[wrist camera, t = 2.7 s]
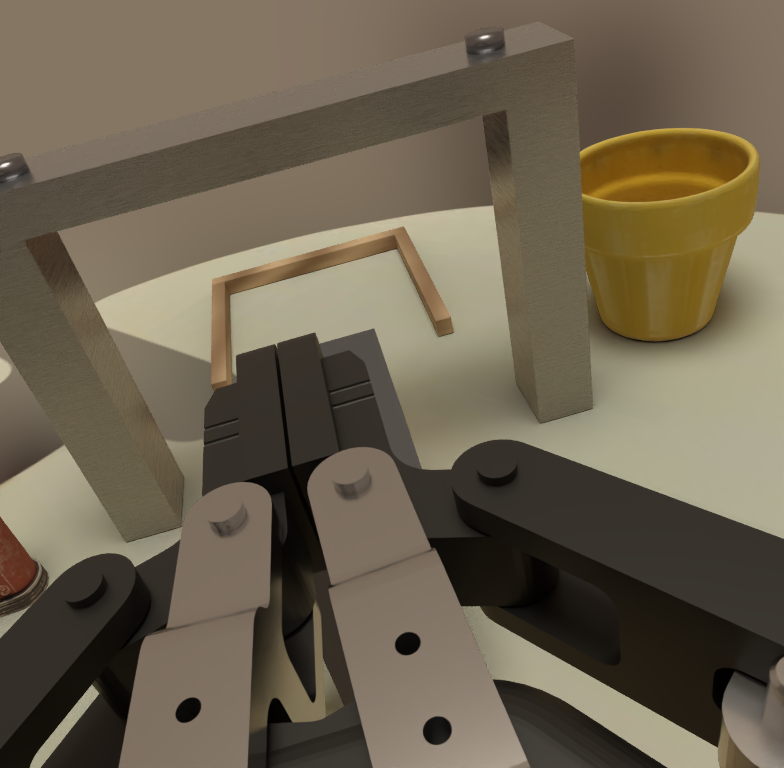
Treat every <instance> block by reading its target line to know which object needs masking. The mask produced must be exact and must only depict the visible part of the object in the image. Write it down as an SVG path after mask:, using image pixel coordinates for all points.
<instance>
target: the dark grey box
mask: <svg viewBox="0 0 784 768" xmlns="http://www.w3.org/2000/svg"><path fill="white" fill-rule="evenodd" d="M320 347H321V350H322V354H323V357H327V356H331V355H334V354H337V353H341V352H344V351H348V350H350V351H351V352H352V353H354V354H355V355H356V356H358V357H359V358H360V359H361V360H363V361H364V362H365V365H366V368H367V371H368V375H369V378H370V382H371V385H372V388H373V392H374V395H375V398H376V402H377V405H378V408H379V412H380V415H381V418H382V422H383V425H384V428H385V432H386V435H387V439H388V442H389V445H390V448H391V450H392V452H393V454H394V455H395V456H396V457H397V458H398V459H399V460H400V461H401V462H403V463H405V464H406V465H409V466H411V467H414V468H418V469H422V468H421V465H420V462H419V459H418V456H417V453H416V450H415V447H414V444H413V442H412V439H411V436H410V433H409V430H408V427H407V424H406V421H405V418H404V415H403V412H402V409H401V406H400V403H399V400H398V397H397V394H396V391H395V388H394V386H393V383H392V380H391V377H390V374H389V371H388V368H387V365H386V362H385V359H384V356H383V353H382V350H381V347H380V344H379V341H378V338H377V335H376V332H375V330H374V329H371V330H367V331H364V332H360V333H356V334H353V335H349V336H346V337H342V338H339V339H335V340H331V341H328V342H324V343H321V344H320ZM313 576H314V584H315V591H316V598H315V599H316V601H317V604H318V606H319V609H320V613H321V629H322V650H323V659H324V662H325V664H326V666H327V668H328V670H329V673H330V675H331V677H332V679H333V682H334V684H335V686H336V688H337V690H338V693H339V695H340V697H341V699H342V702H343V704H344V706H346V705H348V704H350V703H352V702H353V701H355V700H356V699H355V695H354V691H353V687H352V683H351V679H350V675H349V671H348V667H347V663H346V659H345V655H344V651H343V647H342V643H341V639H340V635H339V631H338V627H337V623H336V619H335V615H334V611H333V607H332V603H331V599H330V595H329V589H328V586H329V585H331V581H330V577H329V573H328V570H324V571H321V572H317V573H314V574H313Z"/></svg>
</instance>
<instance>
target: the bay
mask: <svg viewBox="0 0 784 768" xmlns="http://www.w3.org/2000/svg"><path fill="white" fill-rule="evenodd" d="M396 248H397V249H398V251H399V253H400V255H401V257H402V259H403V261H404V263H405V266H406V268H407V270H408V272H409V274H410V276H411V278H412V280H413V283H414V285H415V287H416V289H417V291H418V293H419V295H420V297H421V300H422V302H423V304H424V306H425V308H426V310H427V312H428V314H429V317H430V319H431V321H432V323H433V325H434V327H435V329H436V331H437V333H438V336H442V335H446V334H450V333H453V327H452V321H451V317H450V315H449V313H448V311H447V309H446V307H445V305H444V303H443V301H442V299H441V297H440V295H439V294H438V292H437V290H436V288H435V286H434V284H433V282H432V280H431V278H430V276H429V274H428V272H427V270H426V268H425V266H424V265H423V263H422V261H421V259H420V257H419V255H418V253H417V251H416V249H415V247H414V245H413V243H412V241H411V239H410V237H409V235H408V234H407V232H406V230H405V228H404V227H400V228H397V229H393V230H389V231H386V232H382V233H378V234H375V235H371V236H367V237H364V238H360V239H357V240H353V241H349V242H346V243H342V244H338V245H335V246H331V247H328V248H324V249H320V250H317V251H313V252H309V253H306V254H302V255H298V256H295V257H291V258H288V259H284V260H280V261H277V262H273V263H269V264H266V265H262V266H259V267H255V268H251V269H248V270H244V271H240V272H237V273H233V274H229V275H226V276H222V277H219V278H215V279H212V351H211V385H212V388H213V390H214V392H215V390H216V389H217V388H221V387H224V386H227V385H231V384H232V365H231V330H230V296H229V294H233V293H236V292H240V291H244V290H247V289H251V288H255V287H258V286H262V285H265V284H269V283H273V282H276V281H280V280H283V279H287V278H291V277H294V276H298V275H302V274H305V273H309V272H312V271H316V270H320V269H323V268H327V267H331V266H334V265H338V264H341V263H345V262H349V261H352V260H356V259H359V258H363V257H367V256H370V255H374V254H378V253H381V252H385V251H388V250H392V249H396Z"/></svg>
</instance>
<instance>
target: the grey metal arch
mask: <svg viewBox="0 0 784 768" xmlns="http://www.w3.org/2000/svg"><path fill="white" fill-rule="evenodd" d="M577 110H578V109H577V89H576V71H575V49H574V39H573V38H571V37H569V36H567V35H565V34H563V33H561V32H559V31H557V30H555V29H552V28H551V27H549V26H547V25H545V24H542V23H541V22H535V23H531V24H527V25H523V26H519V27H516V28H512V29H508V30H504V29H503V28H502V27H487V28H482V29H478V30H474V31H472V32H470V33H467V34H466V35H465V41H464V42H459V43H456V44H452V45H448V46H445V47H441V48H437V49H433V50H429V51H426V52H422V53H419V54H415V55H411V56H407V57H403V58H400V59H396V60H392V61H388V62H385V63H381V64H377V65H373V66H370V67H366V68H362V69H359V70H355V71H351V72H347V73H343V74H340V75H336V76H332V77H328V78H325V79H321V80H317V81H313V82H310V83H306V84H302V85H298V86H295V87H291V88H287V89H283V90H280V91H276V92H272V93H268V94H265V95H261V96H257V97H253V98H250V99H246V100H242V101H238V102H235V103H231V104H227V105H223V106H220V107H216V108H213V109H208V110H205V111H201V112H197V113H193V114H190V115H186V116H182V117H178V118H175V119H171V120H167V121H163V122H160V123H156V124H152V125H148V126H145V127H141V128H137V129H134V130H130V131H126V132H122V133H119V134H115V135H111V136H107V137H103V138H100V139H96V140H93V141H88V142H85V143H81V144H77V145H74V146H70V147H66V148H62V149H58V150H55V151H51V152H47V153H44V154H40V155H36V156H32V157H28V158H25V159H24V157H23V155H22V154H21V153H13V154H9V155H5V156H1V157H0V342H1V344H2V345H3V347H4V349H5V350H6V352H7V353H8V355H9V356H10V358H11V360H12V361H13V363H14V364H15V366H16V368H17V369H18V371H19V372H20V374H21V376H22V377H23V379H24V380H25V382H26V384H27V385H28V387H29V388H30V390H31V391H32V393H33V395H34V396H35V398H36V400H37V401H38V402H39V404H40V406H41V407H42V409H43V411H44V412H45V414H46V415H47V417H48V419H49V420H50V422H51V423H52V425H53V427H54V428H55V430H56V431H57V433H58V434H59V436H60V438H61V439H62V441H63V442H64V444H65V446H66V447H67V449H68V451H69V452H70V454H71V455H72V457H73V458H74V460H75V462H76V463H77V465H78V466H79V468H80V470H81V471H82V473H83V474H84V476H85V478H86V479H87V481H88V482H89V484H90V486H91V487H92V489H93V490H94V492H95V494H96V495H97V497H98V498H99V500H100V502H101V503H102V505H103V506H104V508H105V509H106V511H107V513H108V514H109V516H110V517H111V519H112V521H113V522H114V524H115V525H116V527H117V529H118V530H119V532H120V533H121V535H122V537H123V538H124V540H125V541H126V542H129V541H133V540H136V539H140V538H143V537H147V536H150V535H153V534H157V533H160V532H164V531H167V530H171V529H174V528H178V527H181V519H182V501H183V482H184V476H183V474H182V472H181V470H180V468H179V466H178V464H177V463H176V461H175V459H174V457H173V455H172V453H171V451H170V449H169V447H168V445H167V443H166V441H165V439H164V437H163V436H162V433H161V432H160V430H159V428H158V426H157V424H156V422H155V420H154V418H153V416H152V414H151V412H150V410H149V409H148V406H147V404H146V403H145V401H144V399H143V397H142V395H141V393H140V391H139V389H138V387H137V385H136V383H135V381H134V379H133V377H132V375H131V374H130V371H129V370H128V368H127V366H126V364H125V362H124V360H123V358H122V356H121V354H120V352H119V350H118V348H117V346H116V345H115V342H114V341H113V339H112V337H111V335H110V333H109V331H108V329H107V327H106V325H105V323H104V321H103V319H102V317H101V315H100V313H99V311H98V309H97V307H96V306H95V304H94V302H93V300H92V298H91V296H90V294H89V292H88V290H87V288H86V286H85V284H84V282H83V280H82V279H81V276H80V275H79V273H78V271H77V269H76V267H75V265H74V263H73V261H72V259H71V257H70V256H69V253H68V251H67V249H66V248H65V245H64V244H63V242H62V240H61V238H60V236H59V234H58V232H57V231H60V230H63V229H67V228H71V227H75V226H79V225H82V224H86V223H90V222H93V221H97V220H101V219H104V218H108V217H112V216H115V215H119V214H122V213H127V212H130V211H134V210H138V209H141V208H145V207H149V206H152V205H156V204H159V203H163V202H167V201H171V200H175V199H178V198H182V197H186V196H189V195H193V194H197V193H200V192H204V191H208V190H211V189H215V188H219V187H222V186H226V185H230V184H234V183H237V182H241V181H245V180H248V179H252V178H256V177H259V176H263V175H267V174H271V173H274V172H278V171H281V170H285V169H289V168H293V167H296V166H300V165H304V164H307V163H311V162H315V161H318V160H322V159H326V158H329V157H333V156H337V155H340V154H344V153H348V152H352V151H355V150H359V149H363V148H367V147H370V146H374V145H377V144H381V143H385V142H388V141H392V140H396V139H400V138H403V137H407V136H411V135H414V134H418V133H422V132H426V131H429V130H433V129H437V128H440V127H444V126H448V125H451V124H455V123H459V122H462V121H466V120H470V119H474V118H477V117H481V116H482V118H483V127H484V134H485V142H486V150H487V158H488V166H489V173H490V181H491V189H492V197H493V205H494V213H495V221H496V229H497V236H498V244H499V252H500V260H501V268H502V276H503V283H504V291H505V299H506V307H507V315H508V323H509V331H510V338H511V346H512V354H513V362H514V370H515V378H516V383H517V385H518V386H519V388H520V390H521V391H522V393H523V395H524V397H525V398H526V400H527V402H528V404H529V405H530V407H531V409H532V410H533V412H534V414H535V416H536V417H537V419H538V421H539V423H543V422H547V421H550V420H554V419H557V418H561V417H564V416H568V415H571V414H575V413H578V412H581V411H585V410H588V409H592V408H593V404H592V384H591V364H590V345H589V325H588V305H587V286H586V266H585V246H584V227H583V207H582V187H581V168H580V149H579V129H578V111H577Z"/></svg>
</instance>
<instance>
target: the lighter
mask: <svg viewBox="0 0 784 768" xmlns="http://www.w3.org/2000/svg"><path fill="white" fill-rule="evenodd" d="M48 581H49V576H48V573H47V571H46V570H45V569H44V567H43V566H42V565H41V563H40V562H39V561H37V560H36V559H32V558H31V557H30V556H29V554H28V553H27V552H26V550H25V549H24V548H23V546H22V545H21V544H20V542H19V541H18V540H17V538H16V537H15V536H14V535H13V533H12V532H11V531H10V529H9V528H8V527H7V525H6V524H5V523H4V521H3V520H2V519H1V517H0V617H3V616H6V615H8V614H11V613H14V612H17V611H20V610H23V609H25V608H27V607H29V606H31V605H32V604H33V603H34V602H35V601H36V600H37V599H38V598H39V597H40V596H41V595H42V594H43V593H44V591H45V589H46V588H47V586H48Z"/></svg>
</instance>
